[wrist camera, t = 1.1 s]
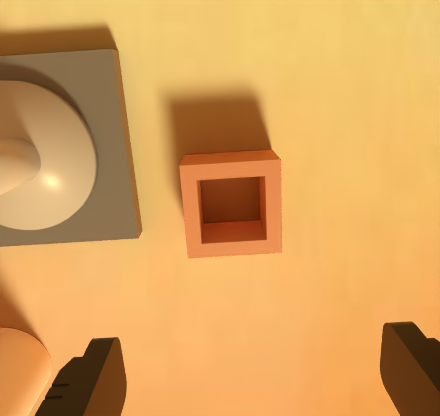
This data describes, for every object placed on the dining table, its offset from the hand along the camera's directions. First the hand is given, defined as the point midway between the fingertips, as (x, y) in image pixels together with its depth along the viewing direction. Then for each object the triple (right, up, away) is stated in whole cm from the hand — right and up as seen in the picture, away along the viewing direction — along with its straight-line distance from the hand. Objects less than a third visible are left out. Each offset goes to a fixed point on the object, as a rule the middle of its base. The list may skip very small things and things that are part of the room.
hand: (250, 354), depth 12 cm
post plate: (-14, +8, +16) cm, 23 cm away
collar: (0, +6, +17) cm, 18 cm away
